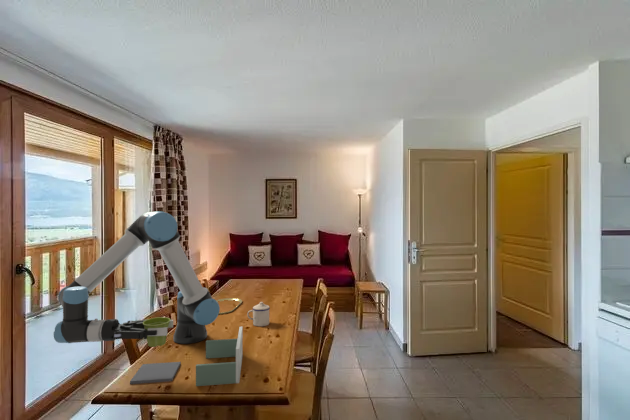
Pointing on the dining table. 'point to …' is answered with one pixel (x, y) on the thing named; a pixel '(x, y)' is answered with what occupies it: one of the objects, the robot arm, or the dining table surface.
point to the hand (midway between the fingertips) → (170, 327)
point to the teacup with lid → (260, 314)
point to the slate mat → (156, 372)
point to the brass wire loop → (230, 299)
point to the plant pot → (156, 323)
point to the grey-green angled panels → (221, 371)
